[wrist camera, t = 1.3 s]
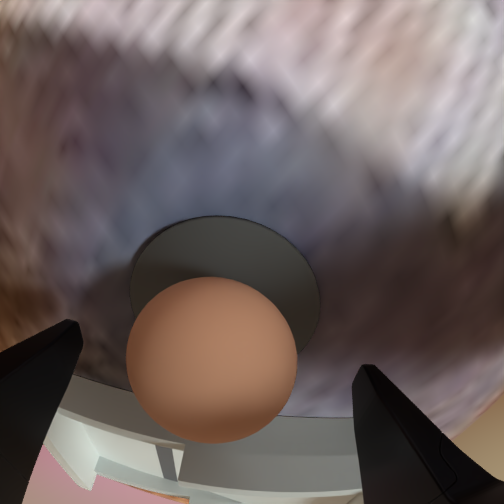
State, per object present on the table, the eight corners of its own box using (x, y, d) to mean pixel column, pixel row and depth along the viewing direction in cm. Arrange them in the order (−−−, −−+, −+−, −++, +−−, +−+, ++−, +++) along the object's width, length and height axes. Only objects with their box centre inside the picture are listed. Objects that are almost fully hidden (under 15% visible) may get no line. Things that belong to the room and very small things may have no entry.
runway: (380, 416, 14) (401, 503, 9) (329, 480, 18) (334, 542, 13) (58, 369, 14) (14, 443, 9) (94, 446, 18) (72, 502, 12)
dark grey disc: (340, 232, 10) (342, 235, 9) (296, 380, 13) (296, 385, 12) (129, 204, 10) (125, 206, 9) (140, 357, 13) (138, 361, 12)
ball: (305, 260, 10) (331, 376, 5) (278, 368, 12) (280, 477, 7) (153, 238, 10) (79, 335, 5) (158, 350, 12) (119, 450, 7)
